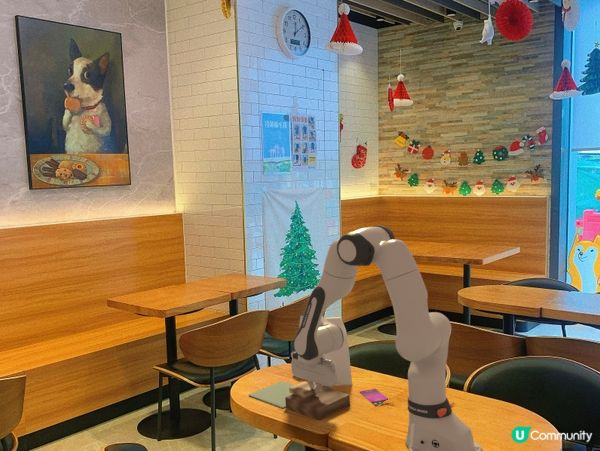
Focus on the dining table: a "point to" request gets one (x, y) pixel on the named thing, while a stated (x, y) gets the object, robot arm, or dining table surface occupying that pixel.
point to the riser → (319, 403)
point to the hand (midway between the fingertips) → (315, 392)
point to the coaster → (301, 389)
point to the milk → (341, 356)
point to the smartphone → (374, 396)
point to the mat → (274, 394)
